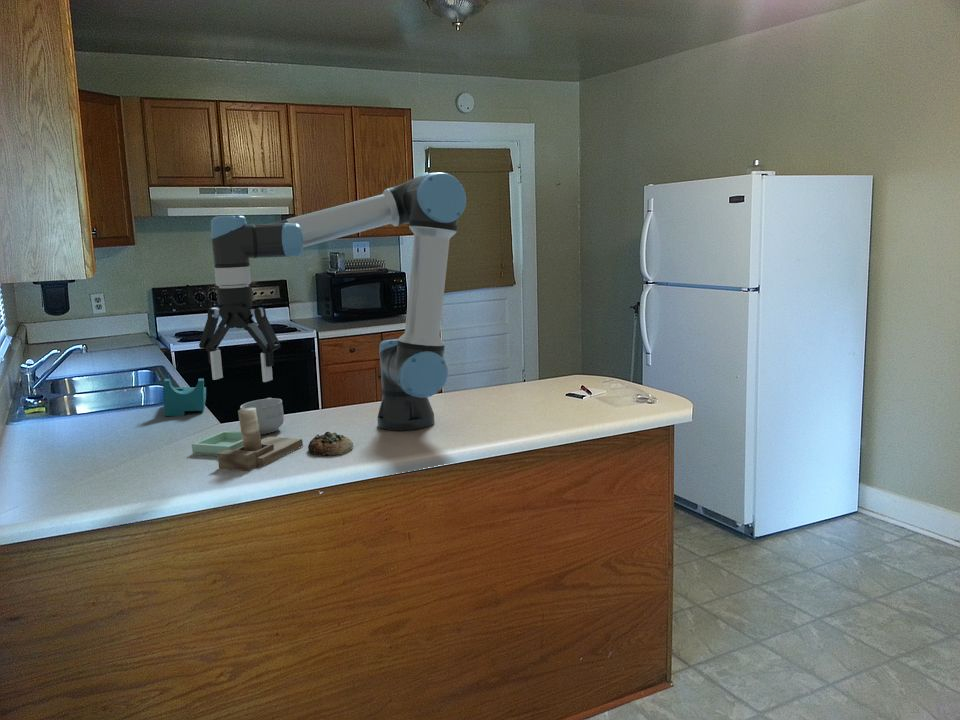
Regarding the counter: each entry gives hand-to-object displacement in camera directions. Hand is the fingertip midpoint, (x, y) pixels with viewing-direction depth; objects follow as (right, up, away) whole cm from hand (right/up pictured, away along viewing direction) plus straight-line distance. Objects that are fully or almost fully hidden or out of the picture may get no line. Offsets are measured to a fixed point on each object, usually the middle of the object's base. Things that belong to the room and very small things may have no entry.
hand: (242, 379), depth 175 cm
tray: (-8, -17, +15) cm, 24 cm away
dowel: (+1, -17, +4) cm, 17 cm away
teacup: (-3, -14, +31) cm, 34 cm away
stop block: (-1, -20, -1) cm, 20 cm away
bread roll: (+18, -17, +10) cm, 27 cm away
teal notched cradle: (-36, -11, +60) cm, 71 cm away
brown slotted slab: (+3, -19, +8) cm, 21 cm away
